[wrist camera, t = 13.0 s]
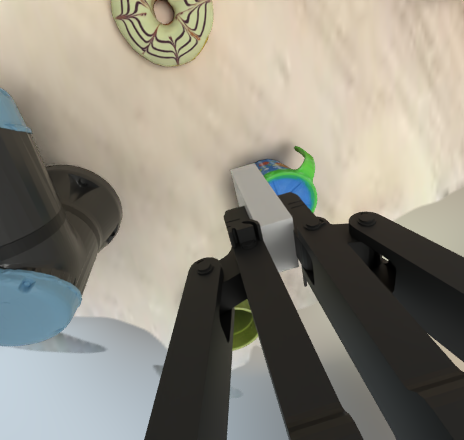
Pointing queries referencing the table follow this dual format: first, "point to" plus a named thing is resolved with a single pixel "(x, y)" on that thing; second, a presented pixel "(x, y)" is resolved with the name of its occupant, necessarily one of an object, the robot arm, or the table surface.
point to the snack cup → (292, 178)
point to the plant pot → (243, 326)
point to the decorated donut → (165, 29)
